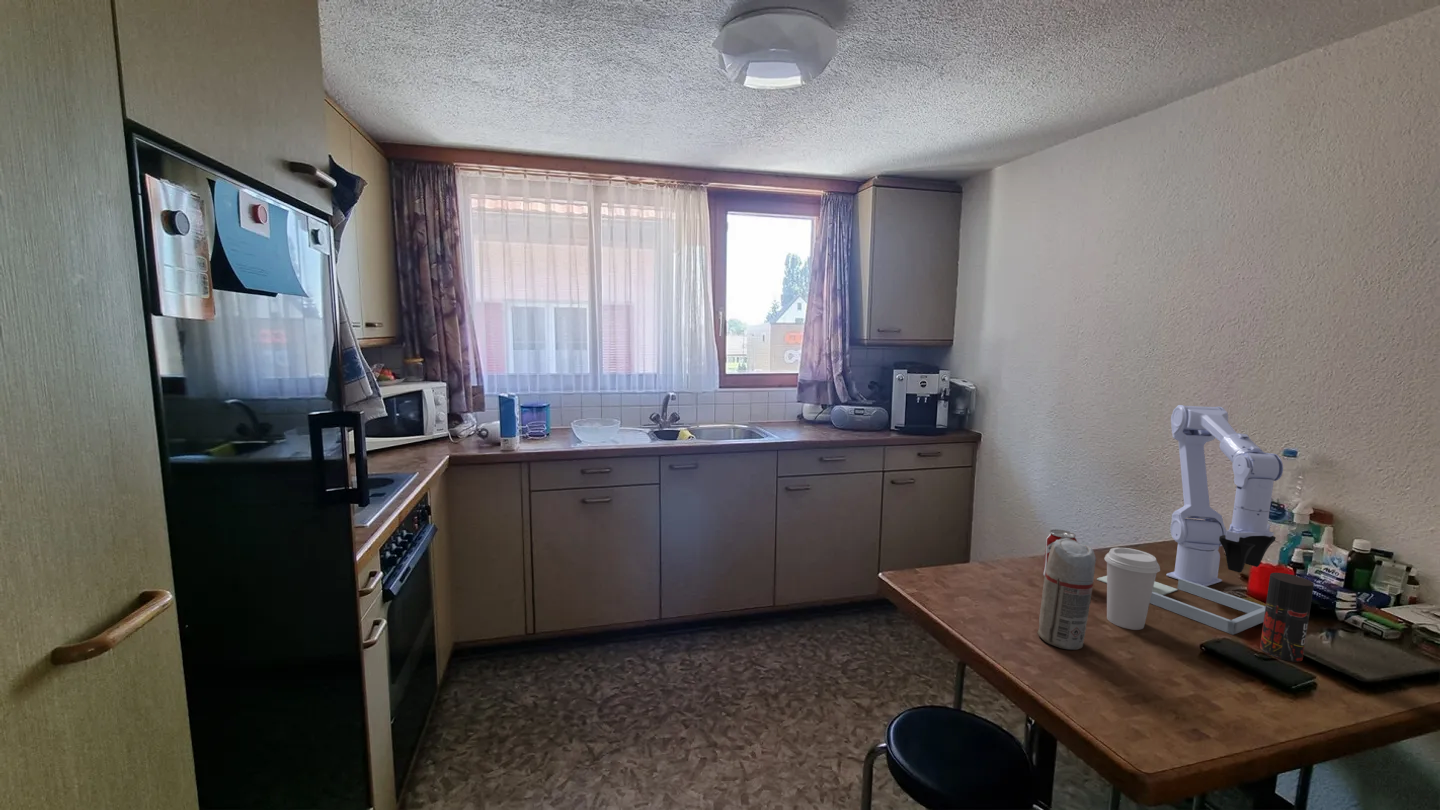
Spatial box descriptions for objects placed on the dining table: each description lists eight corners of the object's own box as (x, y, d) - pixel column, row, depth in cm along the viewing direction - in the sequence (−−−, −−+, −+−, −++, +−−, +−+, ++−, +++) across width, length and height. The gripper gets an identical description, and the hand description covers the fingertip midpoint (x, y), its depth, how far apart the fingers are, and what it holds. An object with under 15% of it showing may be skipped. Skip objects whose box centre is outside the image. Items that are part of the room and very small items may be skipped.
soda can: (1065, 574, 147) (1070, 529, 146) (1079, 586, 140) (1084, 538, 139) (1038, 573, 148) (1042, 527, 146) (1050, 584, 141) (1054, 537, 140)
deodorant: (1260, 641, 116) (1271, 570, 114) (1302, 653, 112) (1313, 579, 110) (1259, 652, 112) (1269, 578, 110) (1302, 665, 107) (1314, 588, 106)
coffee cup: (1146, 617, 125) (1154, 550, 123) (1158, 637, 116) (1167, 566, 115) (1095, 607, 129) (1101, 543, 127) (1102, 627, 120) (1109, 557, 119)
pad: (1124, 571, 150) (1124, 570, 150) (1177, 590, 139) (1177, 589, 139) (1096, 579, 144) (1096, 578, 144) (1149, 599, 134) (1149, 598, 134)
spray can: (1080, 634, 117) (1089, 539, 115) (1091, 655, 109) (1102, 553, 107) (1033, 626, 120) (1042, 533, 118) (1041, 646, 112) (1050, 547, 110)
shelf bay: (1179, 588, 140) (1180, 578, 140) (1269, 619, 125) (1271, 608, 125) (1142, 600, 133) (1143, 589, 133) (1232, 634, 118) (1234, 623, 118)
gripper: (1259, 517, 118) (1250, 580, 120) (1291, 509, 125) (1282, 569, 126) (1217, 507, 125) (1209, 568, 126) (1250, 500, 131) (1242, 558, 133)
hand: (1243, 568), depth 127 cm, fingers open, 7 cm apart
